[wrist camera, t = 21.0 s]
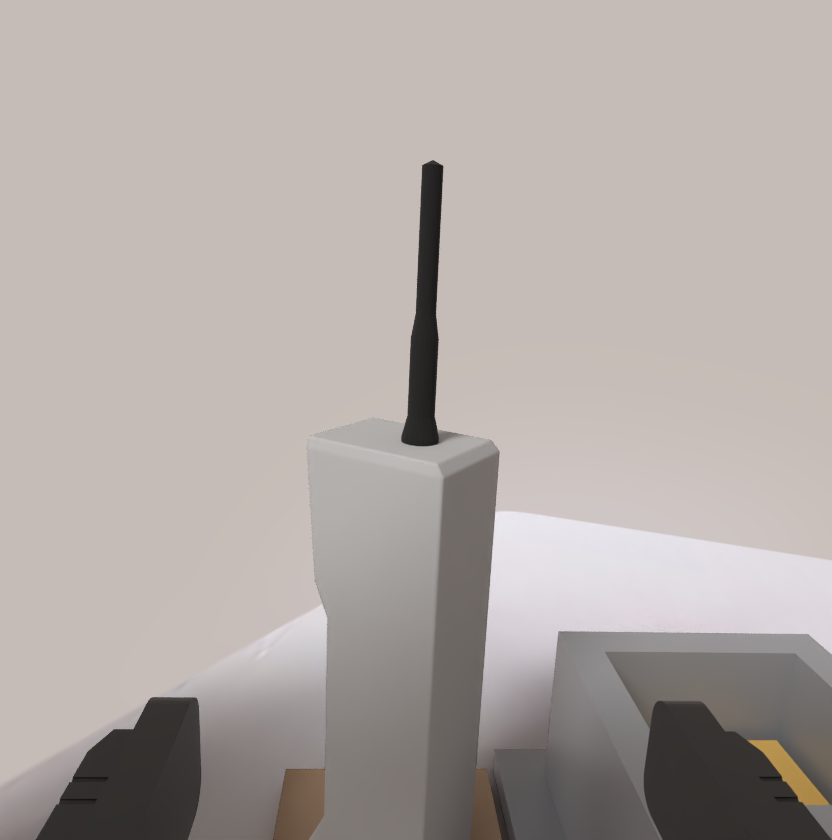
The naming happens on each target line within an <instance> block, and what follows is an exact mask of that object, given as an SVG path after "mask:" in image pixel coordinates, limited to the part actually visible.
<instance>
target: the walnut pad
mask: <svg viewBox="0 0 832 840" xmlns="http://www.w3.org/2000/svg"><path fill="white" fill-rule="evenodd" d="M324 800H325V769H286V771H285V777H284V782H283V788H282V793H281V799H280V804H279V810H278V815H277V821H276V826H275V832H274V837H273V840H309V839H310V837H311V836H312V834H313V832H314V831H315V829H316V828H317V826H318V824H319V823H320V821H321V820H322V818H323V816H324ZM471 840H502V838H501V833H500V828H499V824H498V819H497V814H496V810H495V805H494V800H493V796H492V791H491V786H490V782H489V777H488V772H487V769H476V775H475V789H474V802H473V816H472V829H471Z"/></svg>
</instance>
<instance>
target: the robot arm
mask: <svg viewBox="0 0 832 840" xmlns="http://www.w3.org/2000/svg"><path fill="white" fill-rule="evenodd" d="M200 785H201V758H200V726H199V705H198V700H197V698H171V697H153V698H150V700H149V701H148V703H147V704H146V706H145V708H144V710H143V712H142V714H141V716H140V718H139V720H138V722H137V724H136V725H135V727H134V729H114V730H113V731H111V732H110V733H109V734H108V735H107V736H106V737H104V738H103V739H102V740H101V741H100V742H99V743H97V744H96V745H95V746H94V747H93V748H91V749H90V750H89V751H88V752H87V754H86V756H85V757H84V759H83V761H82V762H81V764H80V766H79V768H78V769H77V771H76V773H75V774H74V776H73V780H72V782H70V783H69V785H68V786H67V788H66V790H65V791H64V793H63V795H62V796H61V798H60V803H59V804H57V805H56V807H55V808H54V810H53V812H52V813H51V815H50V817H49V818H48V820H47V822H46V824H45V825H44V827H43V829H42V830H41V832H40V834H39V835H38V837H37V839H36V840H188V837H189V834H190V831H191V828H192V824H193V821H194V818H195V815H196V811H197V806H198V801H199V794H200ZM644 793H645V799H646V803H647V807H648V810H649V813H650V815H651V817H652V819H653V821H654V823H655V825H656V827H657V829H658V832H659V834H660V836H661V838H662V840H832V839H831V838H830V837H829V836H828V834H827V833H826V832H825V830H824V829H823V828H822V827H821V825H820V824H819V823H818V822H817V820H816V819H815V818H814V816H813V815H812V814H811V813H810V811H809V810H808V809H807V808H806V806H805V805H804V804H803V802H799V800H798V796H797V795H796V794H795V792H794V791H793V790H792V788H791V787H790V786H789V785H788V783H787V782H786V781H783V780H782V776H781V774H780V773H779V772H778V771H777V769H776V768H775V767H774V766H773V764H772V763H771V762H770V761H769V759H768V758H767V757H766V755H765V754H764V753H763V752H762V751H761V750H759V749H758V748H757V747H755V746H754V745H753V744H751V743H750V742H749V741H747V740H746V739H745V738H743V737H742V736H741V735H739V734H738V733H737V732H735V731H725V730H724V729H723V728H722V726H721V725H720V724H719V722H718V721H717V720H716V718H715V717H714V716H713V714H712V713H711V712H710V710H709V709H708V708H707V706H706V705H705V704H704V703H703V702H701V701H657V702H656V703H655V705H654V708H653V712H652V718H651V725H650V732H649V740H648V747H647V754H646V761H645V768H644Z"/></svg>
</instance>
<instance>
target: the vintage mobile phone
mask: <svg viewBox="0 0 832 840" xmlns="http://www.w3.org/2000/svg"><path fill="white" fill-rule="evenodd" d="M442 182H443V166H442V165H441V164H439V163H437V162H435V161H434V160H433V161H430V162H428V163H426V164H424V165H422V185H421V208H420V209H421V210H420V231H419V254H418V276H417V299H416V300H417V301H416V316H415V320H414V326H413V330H412V335H411V348H410V372H409V373H410V374H409V396H408V416H407V419H406V423H405V424H404V423H399V422H393V421H388V420H383V419H377V418H371V419H367V420H363V421H360V422H356V423H353V424H349V425H346V426H342V427H339V428H336V429H332V430H328V431H325V432H321V433H318V434H314V435H311V436H308V441H307V458H308V459H307V460H308V475H309V491H310V508H311V524H312V540H313V555H314V572H315V582H316V585H317V588H318V591H319V594H320V597H321V600H322V603H323V606H324V609H325V612H326V615H327V677H326V738H325V800H324V816H323V818H322V820H321V821H320V823H319V824H318V826H317V828H316V829H315V831H314V832H313V834H312V836H311V837H310V839H309V840H471V829H472V816H473V802H474V789H475V775H476V762H477V748H478V735H479V721H480V708H481V694H482V681H483V668H484V654H485V641H486V627H487V614H488V600H489V587H490V573H491V560H492V546H493V533H494V520H495V506H496V491H497V479H498V466H499V450H498V448H497V447H496V446H495V445H494V443H493V442H492V441H491V440H489V439H483V438H478V437H473V436H468V435H462V434H457V433H452V432H446V431H441V430H437V425H436V421H435V396H436V379H437V359H438V340H439V339H438V330H437V320H436V302H437V281H438V262H439V243H440V221H441V202H442Z"/></svg>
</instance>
